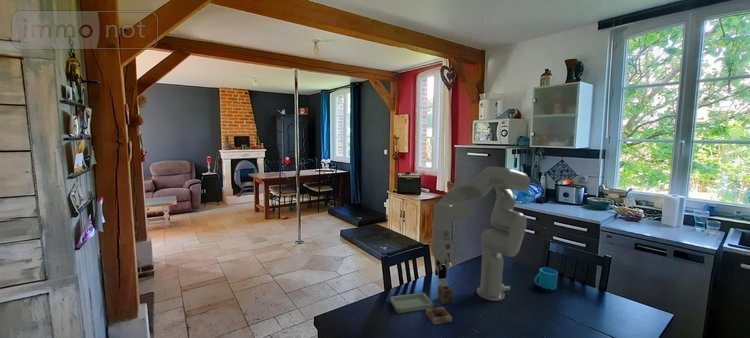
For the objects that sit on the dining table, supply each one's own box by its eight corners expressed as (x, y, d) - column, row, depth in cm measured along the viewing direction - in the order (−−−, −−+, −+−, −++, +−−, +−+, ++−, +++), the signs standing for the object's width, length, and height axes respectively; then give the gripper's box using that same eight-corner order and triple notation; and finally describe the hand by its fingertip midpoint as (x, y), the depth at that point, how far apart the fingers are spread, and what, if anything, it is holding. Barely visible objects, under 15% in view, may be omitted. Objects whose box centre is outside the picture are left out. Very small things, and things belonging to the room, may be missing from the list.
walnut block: (447, 297, 149) (447, 284, 149) (452, 302, 145) (453, 289, 144) (437, 298, 148) (438, 285, 147) (442, 303, 143) (443, 291, 143)
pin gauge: (444, 281, 133) (441, 263, 131) (447, 284, 130) (444, 265, 129) (439, 284, 132) (435, 265, 131) (442, 286, 130) (438, 268, 128)
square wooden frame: (443, 311, 137) (443, 306, 137) (452, 321, 130) (452, 317, 129) (425, 313, 135) (426, 309, 135) (434, 324, 128) (434, 319, 127)
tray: (423, 296, 149) (423, 292, 149) (433, 308, 139) (433, 304, 139) (390, 300, 145) (390, 296, 145) (397, 313, 135) (397, 309, 135)
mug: (548, 281, 167) (549, 266, 166) (560, 289, 159) (561, 273, 158) (528, 284, 164) (529, 268, 163) (540, 291, 156) (541, 275, 155)
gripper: (461, 238, 122) (458, 284, 124) (441, 226, 137) (440, 267, 139) (443, 240, 120) (441, 286, 122) (425, 227, 135) (424, 269, 137)
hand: (440, 276), depth 130 cm, fingers closed on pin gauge, 2 cm apart
